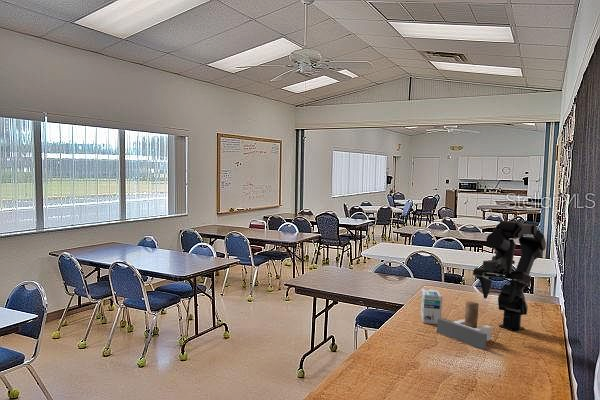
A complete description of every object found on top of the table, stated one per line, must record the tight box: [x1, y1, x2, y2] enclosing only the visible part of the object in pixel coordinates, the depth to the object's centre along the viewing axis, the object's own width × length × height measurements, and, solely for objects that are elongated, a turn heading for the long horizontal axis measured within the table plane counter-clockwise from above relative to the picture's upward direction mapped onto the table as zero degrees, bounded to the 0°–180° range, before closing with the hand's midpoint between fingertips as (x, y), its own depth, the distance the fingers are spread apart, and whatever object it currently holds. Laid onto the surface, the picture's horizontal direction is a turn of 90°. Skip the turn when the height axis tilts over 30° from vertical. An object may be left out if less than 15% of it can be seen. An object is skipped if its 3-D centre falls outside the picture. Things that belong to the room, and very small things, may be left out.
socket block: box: [453, 318, 493, 342], centre depth 157 cm, size 9×10×4 cm
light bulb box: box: [420, 288, 443, 325], centre depth 176 cm, size 11×7×11 cm, turn 170°
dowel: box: [464, 301, 479, 328], centre depth 157 cm, size 4×4×12 cm
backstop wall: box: [436, 317, 488, 350], centre depth 154 cm, size 2×18×5 cm, turn 35°
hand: (497, 300), depth 157 cm, fingers open, 9 cm apart
